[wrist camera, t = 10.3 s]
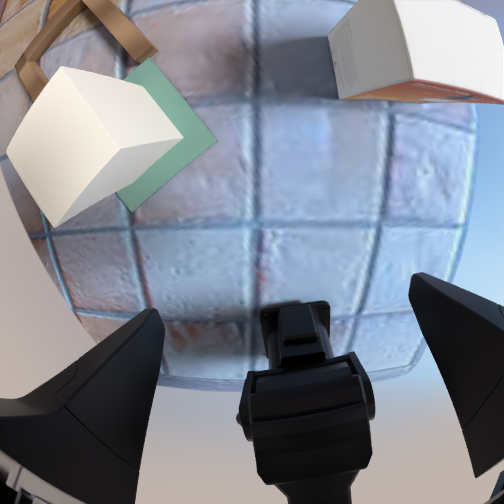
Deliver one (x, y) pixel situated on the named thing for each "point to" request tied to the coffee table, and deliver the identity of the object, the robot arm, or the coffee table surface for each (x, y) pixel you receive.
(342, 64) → the small box
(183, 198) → the coffee table surface
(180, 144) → the green mat
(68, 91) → the cream block
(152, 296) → the coffee table surface
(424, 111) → the coffee table surface
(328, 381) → the robot arm
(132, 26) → the brown wooden frame
